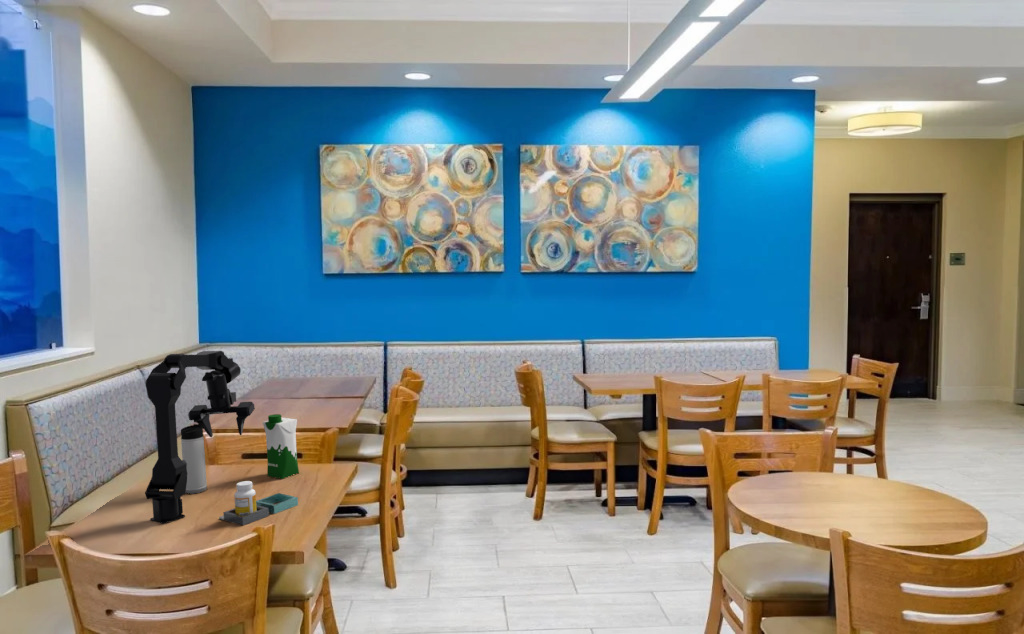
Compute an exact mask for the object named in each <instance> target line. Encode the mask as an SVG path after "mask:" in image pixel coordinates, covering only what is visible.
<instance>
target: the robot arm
mask: <svg viewBox="0 0 1024 634" xmlns="http://www.w3.org/2000/svg"><path fill="white" fill-rule="evenodd" d="M194 367H195V368H197V369H199V370H202V371H203V370H205V371H207V372H205V374H204V375H203V377H202V379H201V381H202V382H205V383H206V387H207V388H206V389H207V400H208V401H209V404H210V407H208V405H207V404H197V405H194V406H193V407H192V408H191V409H190V410H189V411H188V414H187V415H188V420H189V421H193V423H197V424H200V425H201V426H202V427H203V431H205V432H206V434H207V435H208V436H209V438H213V435H214V433H213V429H212V428H213V427H212V425H211V421H210V415H221V414H235V415H236V419H235V421H236V425H237V431H238V434H239V435H240V436H242V434H243V431H244V426H245V421H246V419H247V418H248V417H249V416H251V415H252V414H253V412H254V411H255V409H256V408H255V407H256V406H255V404H254V403H253V401H242V402H241V401H240V402H239V403H238V404H237V405H236V406H235V405H234V403H236V402H237V392H236V391H232V392H231V390H230V388H228V384H230V383H231V382H232V381H234V380H235V379H237V377H239V376H240V374H241V367H240V365H239V364H238V363H237V362H235V361H234V359H233V358H232V357H230V358H229V357H228V356H227V355H226V354H225V352H224V351H223V350H202V351H199V352H197V353H196V354H184V353H170V354H168V355H166V356H165V358H164V360H163V361H162V362H160V363H159V364H158V365H156V366H155V367H154V368H152V370H151V372H150V373H149V375H148V376H147V378H146V380H145V388H146V394H147V398H148V399H149V400H150V402H151V403H152V404H153V406H154V416H155V427H156V428H155V429H156V443H157V444H156V445H157V446H156V447H157V461H155V463H154V466H153V468H152V472H151V478H150V480H149V483H148V485H147V487H146V490H145V492H144V495H145V499H146V500H151V502H152V516H153V517H151V518H150V520H149V521H151V522H154V523H158V524H162V525H166V524H169V523H171V522H174V521H176V520H177V521H178V520H179V519H183V518H186V515H185V514H183V512H184V510H183V499H182V498H181V497H183V496H184V495H186V493H185V492H186V484H187V475H188V473H187V463H186V461H185V460H183V459H181V457H179V449H178V434H177V433H178V432H177V418H176V416H177V415H176V403H177V401H178V399H179V397H180V396H181V394H182V388H181V387H182V385H183V383H184V382H185V380H186V378H187V374H186V369H187V368H194ZM172 369H178V370H177V372H170V371H171V370H172ZM211 370H212V371H211ZM232 405H234V406H232Z"/></svg>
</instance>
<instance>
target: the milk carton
mask: <svg viewBox="0 0 1024 634" xmlns="http://www.w3.org/2000/svg"><path fill="white" fill-rule="evenodd" d="M297 424H298V419H297V418H288V417H282V414H279V413H276V414H275V413H274V414H270V415H268V416H267V420H265V421H263V422H262V425H263V429H264V432H265V437H266V438H265V439H266V456H267V457H266V458H267V470H266V471H267V477H269V476H271V477H270V478H274V477H276V479H279V478H281V479H280V480H283V478H284V479H286V478H285V477H287V478H289V477H288V476H290V477H292V476H294V475H293V474H295V475H297V474H296V473H298V474H300V471H299V470H300V469H299V464H298V462H299V461H298V454H297V436H296V435H297V434H296V431H297ZM291 475H292V476H291Z"/></svg>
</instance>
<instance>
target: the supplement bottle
mask: <svg viewBox="0 0 1024 634" xmlns="http://www.w3.org/2000/svg"><path fill="white" fill-rule="evenodd" d="M256 501H257V495H256V490H255V489H254V488H253V482H252V481H250V480H245V481H239V482H238V483H236V491H235V493H234V508H235V512H236V514H238V515H241V516H245V515H247V514H250V513H253V512H256V511H257V508H256Z"/></svg>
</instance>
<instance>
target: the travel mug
mask: <svg viewBox="0 0 1024 634" xmlns="http://www.w3.org/2000/svg"><path fill="white" fill-rule="evenodd" d="M180 436H181V437H180V440H181V441H180V442H181V458H182V459H181V460H185V461H186V463H187V473H188V475H187V484H186V492H185V494H187V493H188V495H194V494H195V493H196V494H201V493H203V491H204V492H206V491H207V489H208V486H207V483H208V482H207V470H206V469H207V467H206V454H205V440H204V429H203V427H202V426H201V425H200V424H198V423H197V424H196V423H195V424H192V425H188V426H185V427H183V428H181V429H180ZM200 492H201V493H200ZM189 493H190V494H189Z"/></svg>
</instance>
